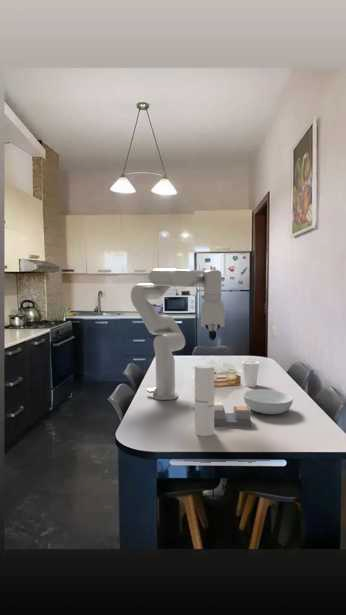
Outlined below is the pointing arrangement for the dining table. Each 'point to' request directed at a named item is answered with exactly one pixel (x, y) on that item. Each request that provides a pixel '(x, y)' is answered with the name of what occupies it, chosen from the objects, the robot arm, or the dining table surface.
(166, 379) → the robot arm
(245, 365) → the foam cup
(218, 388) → the dining table surface
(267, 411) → the serving bowl
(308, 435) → the dining table surface
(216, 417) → the key panel
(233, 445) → the dining table surface
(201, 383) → the cylindrical container
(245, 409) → the key terracotta
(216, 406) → the key ivory
